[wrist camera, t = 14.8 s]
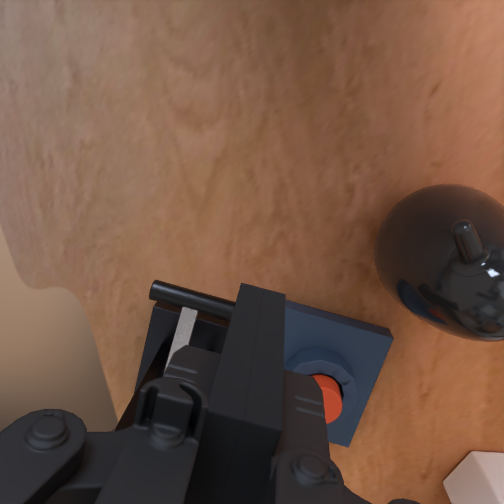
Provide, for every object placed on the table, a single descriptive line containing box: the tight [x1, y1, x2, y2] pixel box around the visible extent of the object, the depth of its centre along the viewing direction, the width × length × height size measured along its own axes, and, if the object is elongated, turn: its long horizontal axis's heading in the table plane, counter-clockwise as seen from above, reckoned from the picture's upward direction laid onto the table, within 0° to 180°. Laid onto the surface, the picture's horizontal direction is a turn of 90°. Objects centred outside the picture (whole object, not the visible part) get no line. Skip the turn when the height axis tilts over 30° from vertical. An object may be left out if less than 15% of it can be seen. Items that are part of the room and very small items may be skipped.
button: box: [311, 374, 342, 424], centre depth 38 cm, size 4×4×2 cm
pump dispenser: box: [374, 184, 504, 342], centre depth 31 cm, size 10×10×15 cm
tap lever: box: [149, 280, 236, 372], centre depth 32 cm, size 13×6×2 cm, turn 164°
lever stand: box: [112, 301, 230, 431], centre depth 37 cm, size 11×8×14 cm
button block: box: [284, 300, 393, 447], centre depth 41 cm, size 12×10×4 cm
